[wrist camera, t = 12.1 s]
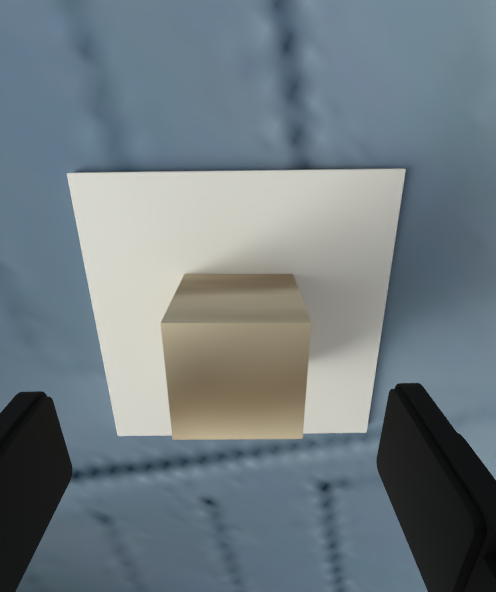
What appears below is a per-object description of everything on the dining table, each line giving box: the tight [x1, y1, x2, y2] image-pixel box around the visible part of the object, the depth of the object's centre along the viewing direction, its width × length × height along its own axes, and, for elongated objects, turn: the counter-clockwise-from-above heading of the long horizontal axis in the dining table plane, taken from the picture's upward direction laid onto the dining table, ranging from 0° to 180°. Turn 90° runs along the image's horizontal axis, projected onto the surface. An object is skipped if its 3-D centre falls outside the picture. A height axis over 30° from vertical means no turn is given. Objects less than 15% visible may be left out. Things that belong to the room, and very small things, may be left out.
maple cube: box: [160, 274, 311, 440], centre depth 15 cm, size 5×5×5 cm
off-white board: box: [67, 168, 406, 436], centre depth 18 cm, size 14×14×1 cm
